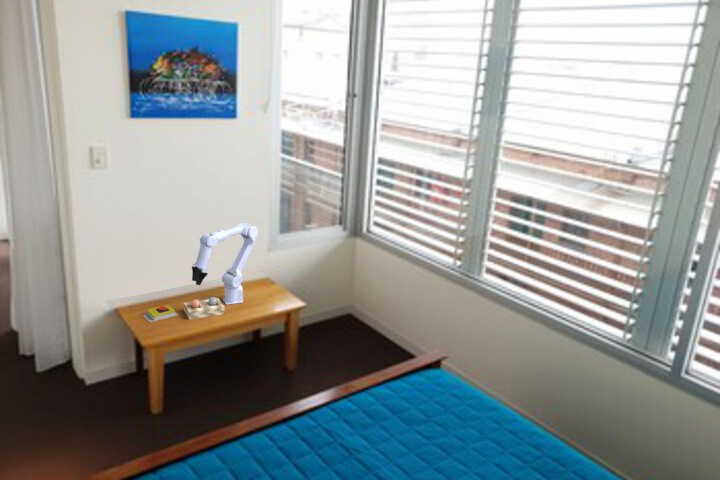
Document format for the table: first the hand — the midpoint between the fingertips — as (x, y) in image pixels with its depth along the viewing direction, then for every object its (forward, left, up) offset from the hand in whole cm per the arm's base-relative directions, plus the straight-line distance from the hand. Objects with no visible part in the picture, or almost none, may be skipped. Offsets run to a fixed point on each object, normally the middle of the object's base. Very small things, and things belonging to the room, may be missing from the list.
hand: (196, 282), depth 288 cm
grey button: (-8, +1, -14) cm, 16 cm away
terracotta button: (+1, +1, -14) cm, 14 cm away
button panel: (-4, +1, -17) cm, 17 cm away
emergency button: (+17, -3, -17) cm, 25 cm away
